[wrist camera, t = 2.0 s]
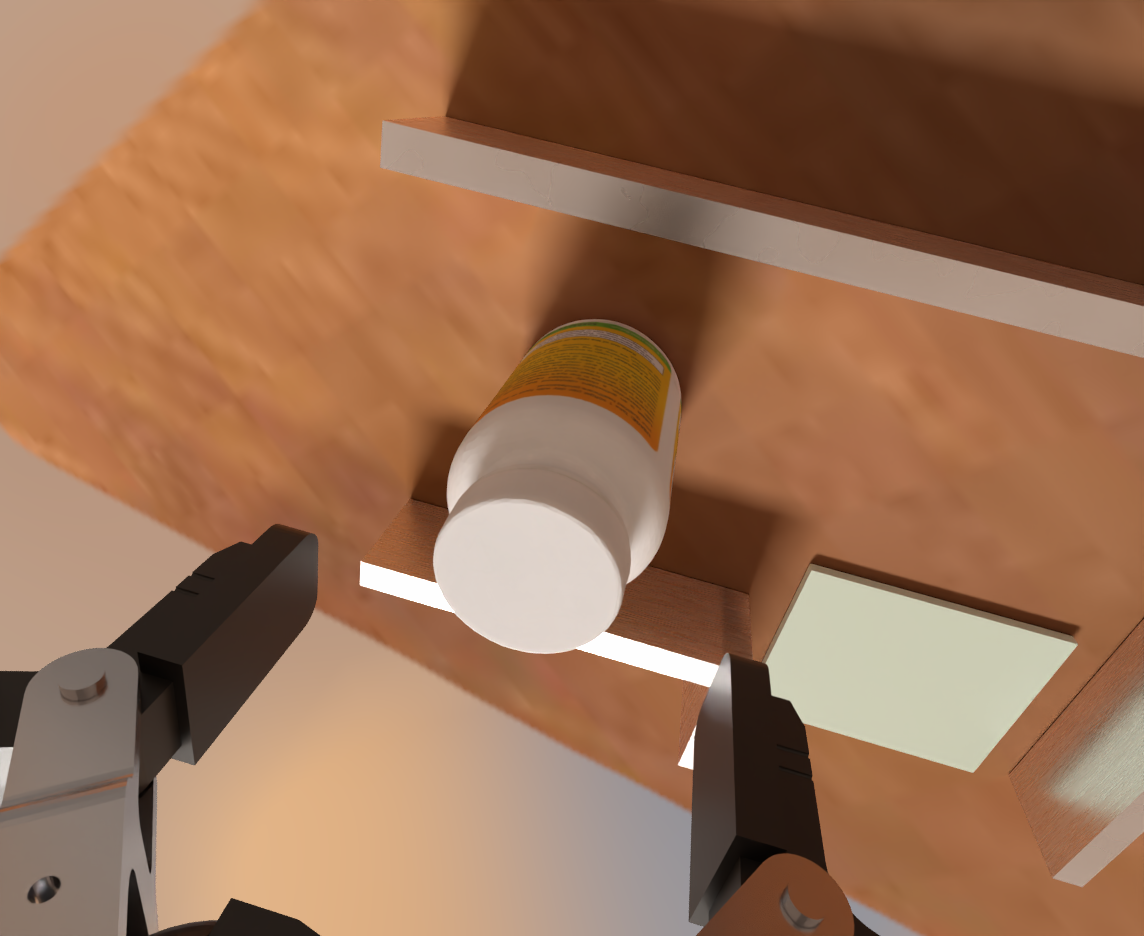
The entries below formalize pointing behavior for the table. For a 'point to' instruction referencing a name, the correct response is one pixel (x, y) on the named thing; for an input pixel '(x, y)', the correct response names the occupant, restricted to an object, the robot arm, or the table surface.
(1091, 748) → the channel
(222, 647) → the robot arm
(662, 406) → the supplement bottle
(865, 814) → the table surface
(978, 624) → the pad
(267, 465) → the table surface
